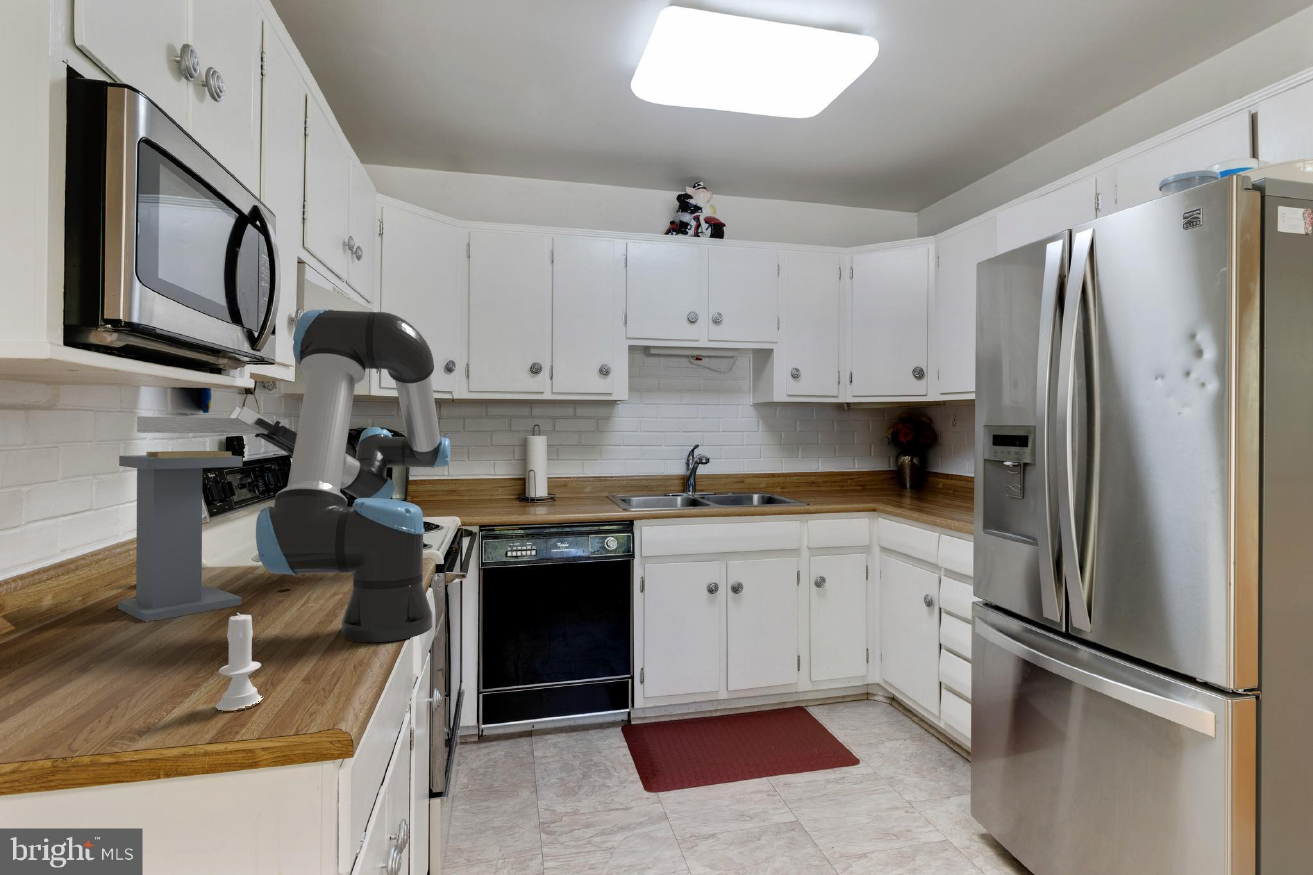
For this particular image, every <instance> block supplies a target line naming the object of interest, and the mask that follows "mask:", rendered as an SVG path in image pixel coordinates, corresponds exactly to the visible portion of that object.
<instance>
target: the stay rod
mask: <svg viewBox="0 0 1313 875" xmlns="http://www.w3.org/2000/svg"><path fill="white" fill-rule="evenodd" d="M267 419H268V420H269V421H271V422H273V425H274V424H275V422H276V421H279V422H281V423H280V425H279V426H281V425H283V426H285V427H287V428H288V429H290V424H289V423H290V419H289V418H267ZM136 426H137V427H136V433H139V434H140V433H141V434H143V433H144V434H145V433H146V434H148V433H149V434H150V433H151V434H152V433H153V434H157V433H158V434H165V433H166V434H175V433H176V434H177V433H178V434H198V433H199V434H256V433H263V432H261V431H259V430H257V429H255V428H253V427H252V426H250V425H248V424H246V423H244V422H242V421H241V420H239V419H237V418H228V417H192V416H191V417H188V416H187V417H186V416H185V417H184V416H182V417H180V416H144V415H143V416H140V415H138V416H136ZM268 433H269V431H268Z"/></svg>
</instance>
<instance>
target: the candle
mask: <svg viewBox="0 0 1313 875" xmlns="http://www.w3.org/2000/svg"><path fill="white" fill-rule="evenodd" d="M236 614H237V615H235V616H230V617H229V618H228V626H227V628H228V629H227V633H226V634H227V635H226V638H227V641H228V664H227V665H223V666H222V667H221V668H219V670H218V674H221V675H224V676H226V677H229V678H231V682H230V683H229V686H228V687H227V690H226V691H225V692H223V694H222V696H221V700H220V701H219V702H217V703H216V705H215V709H216V708H217V709H218V711H219V710H237V709H238V708H245V706H251V705H252V704H255V703H259V702H260V701H261V700H262V699H263V698H264V697H263V698H261V697H262V695H261V694H259V693H258V688H257V687H255V686H254V685H253V684H252V682H251V680H250V678H249V675H250V674H252V673H254V672H255V671H257V670H258V669H260V668H261V667H262V664H261V662H258V661H253V660H252V655H253V654H252V642H253V640H252V639H253V635H254V632H253V618H252V615H251V614H240V613H239V612H236ZM260 695H261V696H260ZM258 701H259V702H258ZM217 709H216V710H217Z"/></svg>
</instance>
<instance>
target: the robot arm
mask: <svg viewBox="0 0 1313 875" xmlns="http://www.w3.org/2000/svg"><path fill="white" fill-rule="evenodd" d="M292 339H293V345H292V353H293V357H294V358H293V359H294V360H295V362H296V363H297V364H298V365H299V366H300V369H301V372H302V374H304V375H305V377H306V382H305V387H304V393H303V399H302V405H301V410H300V415H299V421H298V427H297V431H294V430H292V429H291V428H289V429H288V428H287V427H285V426H283V425H281V426H279V425H280V423H281V422H279V421H276V422H275V424H274V425H273V422H271V421H269V420H268V419H269V418H266V417H264V416H262V415H261V414H259V413H257V412H255V411H254V410H251V409H249V408H248V407H246V406H242V408H240V407H238V406H234V408H233V409H232V410H231V412H230V414H229V415H228V417H227V418H237V419H239V420H241V421H242V422H244V423H246V424H248V425H250V426H252V427H253V428H255V429H257V430H259V431H261V432H263V433H254V434H255V435H254V436H253V437H254V438H259V439H261V440H264V441H266V442H267V443H269V444H271V445H272V446H274V447H276V448H277V449H280V450H281V451H283V452H285V453H286V454H287V455H289V456H291V457H292V460H291V464H290V465H291V466H290V470H289V476H288V482H287V486H286V487H284V488H283V489H281V490H280V491H278V492H277V493H276V494H275V497H274V498H275V499H274V504H273V506H271V505H268V506H266V507H263V508H261V509H260V511H259V513H258V515H257V517H256V523H255V541H256V550H257V552H258V557H259V559H260V562H261V564H262V566H263V567H264V568H265V570H266V571H268V572H270V573H271V574H275V575H278V574H279V575H292V576H298V575H308V574H309V575H312V574H314V575H316V574H318V575H320V574H348V573H349V574H350V573H351V574H352V591H351V593H350V597H349V600H348V603H347V606H346V608H345V612H344V614H343V616H342V619H341V637H343V638H345V639H346V640H348V641H354V642H359V643H385V642H396V641H402V640H406V639H411V638H414V637H418V636H420V635H423V634H425V633H427V632H429V631H430V630H431V629H432V627H433V612H432V609H431V605H430V602H429V600H428V596H427V593H426V590H425V588H424V577H423V576H424V574H423V573H424V563H423V562H424V534H425V528H424V517H423V516H424V514H423V510H422V509H421V507H420V506H418V505H416V504H415V503H411V502H408V501H403V500H397V499H392V497H393V494H394V493H395V489H396V488H395V483H394V481H393V480H392V479H391V478H390V477H388V476H387V470H388V468H431V469H434V468H443V467H447V466H449V465H450V460H451V442H450V439H449V438H447V437H442V436H440V429H439V422H438V415H437V414H438V413H437V410H436V401H435V396H434V388H433V382H432V381H433V380H432V375H433V373H434V371H435V362H434V357H433V353H432V351H431V349H430V345H429V344H428V343H427V341H426V339H425V338H424V337H423V335H422V334H421V332H419V330H417V329H416V328H415V327H414V326H413V325H412V324H411V323H410V322H408V321H407V320H406V319H404V318H402V317H401V316H398V315H397V314H394V313H390V312H385V311H376V312H375V311H360V310H359V311H358V310H357V311H354V310H334V309H331V308H324V309H310V310H307V311H306V312H304V313H303V314H301V316H300V317H299V319H298V321H297V322H296V325H295V327H294V332H293V336H292ZM368 369H370V370H381V369H382V370H387V373H388V375H389V377H390V379H392V380H393V381H394V382H395V388H396V392H397V397H398V400H399V401H398V402H399V405H400V410H401V415H402V419H403V424H404V428H405V434H406V437H405V436H403V437H402V436H392V434H391V432H390V431H388V430H387V429H386V428H380V427H379V426H371V427H368V428H366V429H365V430H363V431H362V433H361V434H360V438H359V440H358V444H357V446H356V453H355V457H352V456H351V455H350V454H347V453H346V450H347V444H348V436H349V431H350V421H351V415H352V409H353V404H354V395H355V388H356V385H357V384H359V383H361V382H362V381H364V379H365V376H366V370H368ZM268 431H269V433H268ZM341 490H342V491H345V492H346V493H348V494H350V495H351V496H353V497H355V498H356V499H355V500H354V503H353V504H352V506H348V499H347V498H346V497H345V495H344V494H343V493H341Z"/></svg>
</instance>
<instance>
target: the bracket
mask: <svg viewBox="0 0 1313 875" xmlns="http://www.w3.org/2000/svg"><path fill="white" fill-rule="evenodd" d="M145 453H146V454H145V455H146V457H158V458H199V457H232V456H233V454H232V451H219V450H180V451H179V450H178V451H177V450H176V451H173V450H171V451H146V452H145Z"/></svg>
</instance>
